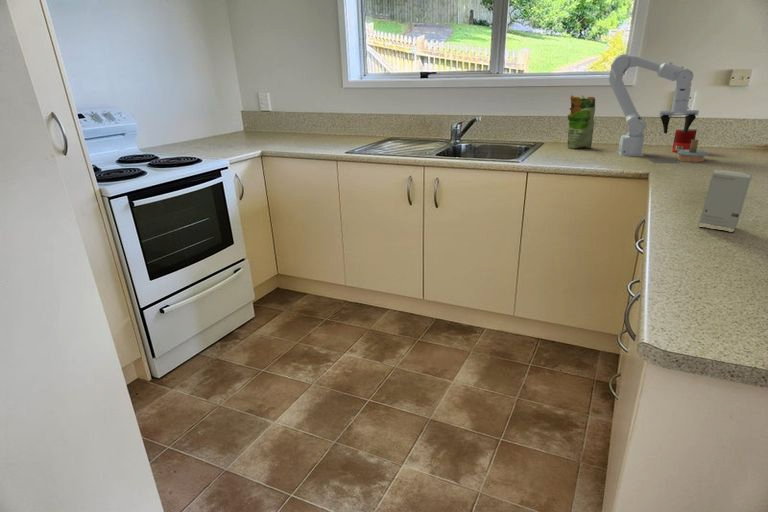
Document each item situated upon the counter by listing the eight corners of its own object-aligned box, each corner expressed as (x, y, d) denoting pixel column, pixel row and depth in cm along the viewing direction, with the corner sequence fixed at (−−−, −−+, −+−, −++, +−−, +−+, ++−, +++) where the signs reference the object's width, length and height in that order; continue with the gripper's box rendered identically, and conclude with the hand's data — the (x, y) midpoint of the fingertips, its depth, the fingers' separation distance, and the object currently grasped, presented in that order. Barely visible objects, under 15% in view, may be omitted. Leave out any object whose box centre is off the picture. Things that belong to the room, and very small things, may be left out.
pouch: (592, 149, 233) (599, 95, 224) (566, 149, 236) (571, 96, 227) (589, 145, 243) (595, 93, 234) (564, 145, 246) (569, 94, 237)
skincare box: (697, 227, 129) (710, 172, 123) (702, 221, 133) (713, 168, 128) (735, 233, 124) (750, 176, 118) (738, 227, 128) (752, 172, 123)
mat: (653, 163, 201) (653, 162, 201) (647, 158, 210) (647, 158, 210) (680, 163, 199) (680, 162, 199) (672, 159, 208) (672, 158, 208)
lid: (681, 156, 199) (684, 142, 197) (673, 151, 209) (676, 137, 206) (711, 156, 196) (714, 142, 194) (702, 151, 206) (705, 137, 204)
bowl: (682, 162, 201) (683, 155, 200) (675, 158, 209) (676, 151, 208) (706, 162, 199) (708, 155, 198) (698, 158, 207) (700, 151, 206)
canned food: (694, 154, 215) (699, 129, 211) (675, 154, 217) (679, 129, 213) (688, 151, 222) (693, 126, 218) (669, 151, 224) (673, 126, 220)
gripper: (664, 101, 200) (659, 134, 205) (703, 100, 197) (697, 134, 202) (659, 99, 207) (654, 132, 212) (697, 98, 203) (691, 131, 208)
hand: (675, 133), depth 207 cm, fingers open, 7 cm apart
